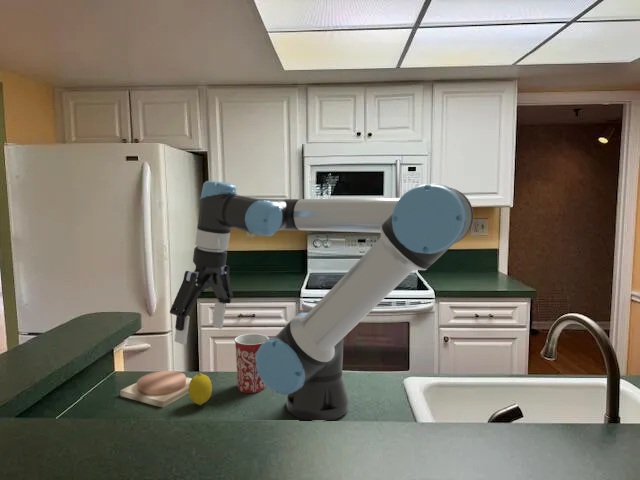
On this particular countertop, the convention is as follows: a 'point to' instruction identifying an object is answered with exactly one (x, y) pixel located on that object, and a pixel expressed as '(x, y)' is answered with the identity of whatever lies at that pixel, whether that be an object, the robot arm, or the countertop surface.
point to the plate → (158, 388)
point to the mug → (248, 362)
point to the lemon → (200, 389)
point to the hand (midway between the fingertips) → (199, 334)
